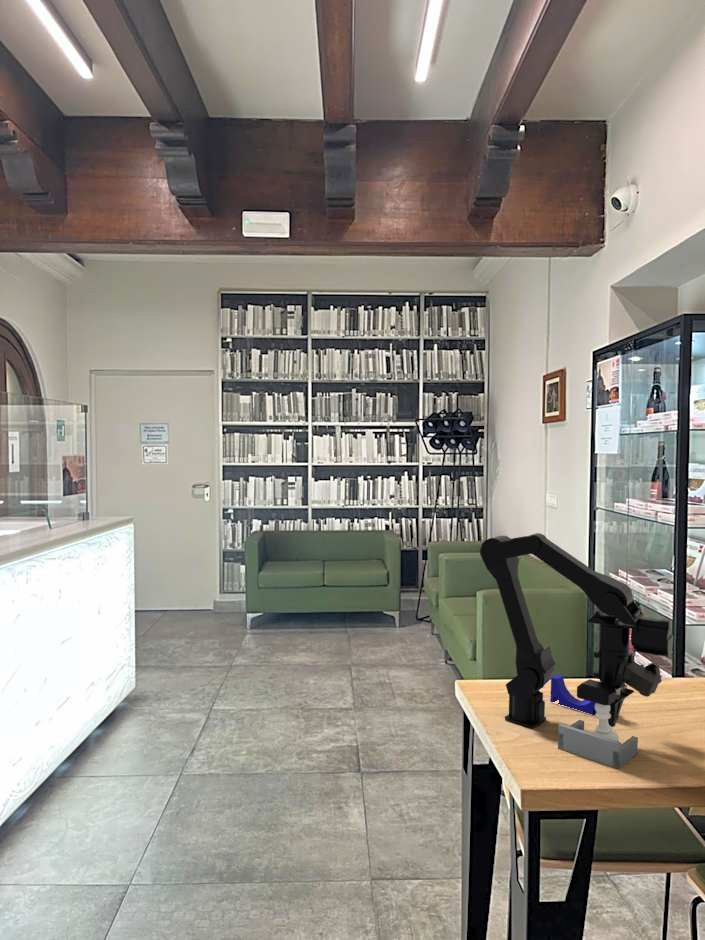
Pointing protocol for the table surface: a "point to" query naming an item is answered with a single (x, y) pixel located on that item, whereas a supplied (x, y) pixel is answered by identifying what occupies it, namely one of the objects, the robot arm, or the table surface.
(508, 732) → the table surface
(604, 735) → the chess pawn
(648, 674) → the robot arm
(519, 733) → the table surface
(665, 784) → the table surface
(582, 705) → the blue concave cradle
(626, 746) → the box
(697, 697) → the table surface
